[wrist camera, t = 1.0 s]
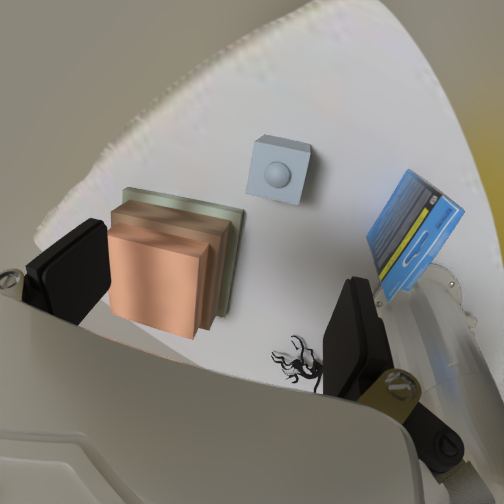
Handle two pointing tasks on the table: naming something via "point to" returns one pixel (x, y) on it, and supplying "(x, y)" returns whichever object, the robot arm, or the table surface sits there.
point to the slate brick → (278, 169)
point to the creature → (299, 367)
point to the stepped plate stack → (171, 260)
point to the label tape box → (410, 232)
